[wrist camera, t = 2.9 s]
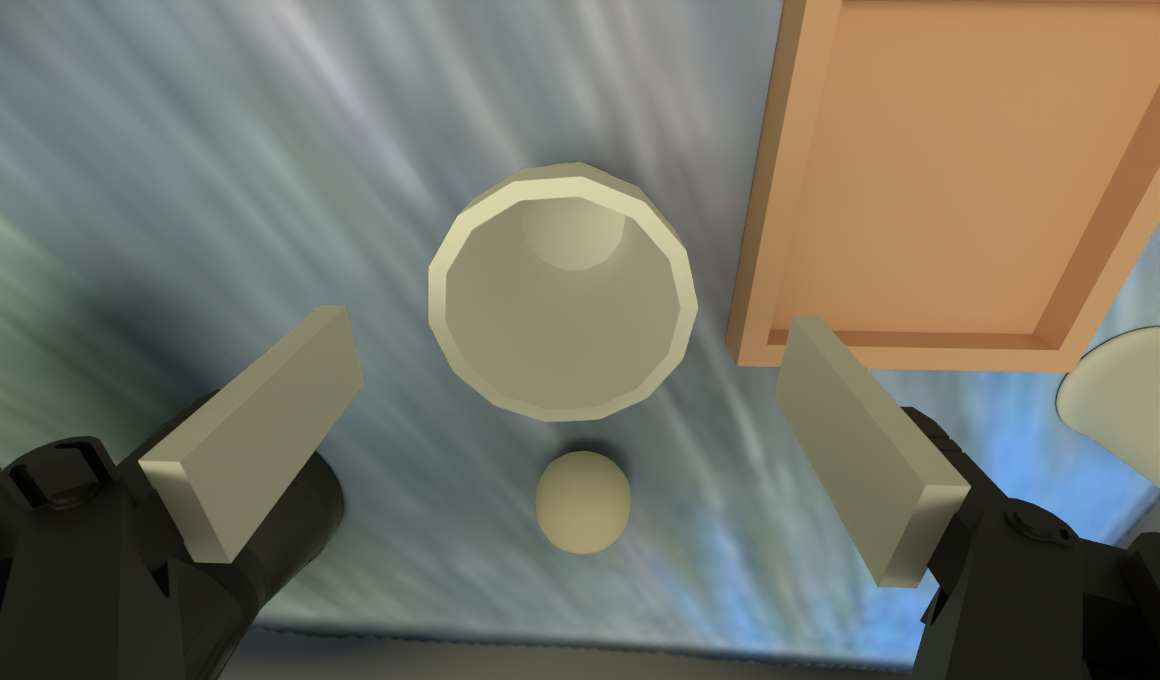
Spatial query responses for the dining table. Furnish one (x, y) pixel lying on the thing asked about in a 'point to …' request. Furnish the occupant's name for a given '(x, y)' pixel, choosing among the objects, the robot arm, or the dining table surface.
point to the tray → (951, 180)
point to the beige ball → (582, 502)
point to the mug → (1119, 399)
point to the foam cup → (562, 294)
